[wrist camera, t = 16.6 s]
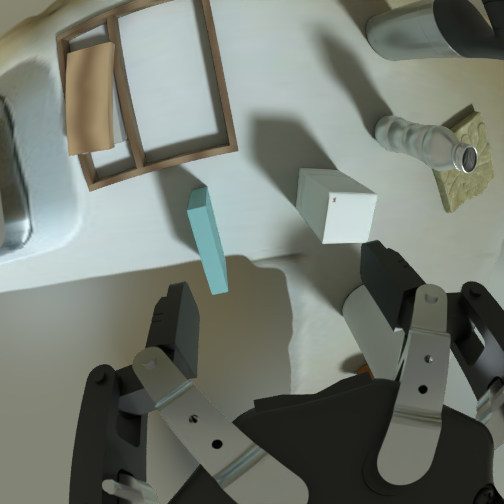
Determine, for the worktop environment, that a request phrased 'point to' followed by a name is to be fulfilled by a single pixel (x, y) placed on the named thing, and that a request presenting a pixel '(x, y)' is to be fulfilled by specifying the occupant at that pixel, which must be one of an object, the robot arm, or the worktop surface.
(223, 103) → the tray
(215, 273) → the teal block
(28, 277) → the worktop surface
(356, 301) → the cylinder vase
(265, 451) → the robot arm
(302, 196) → the supplement box
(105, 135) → the oak offcut top
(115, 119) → the grey flat panel
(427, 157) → the plastic bottle
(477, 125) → the decorative tile
